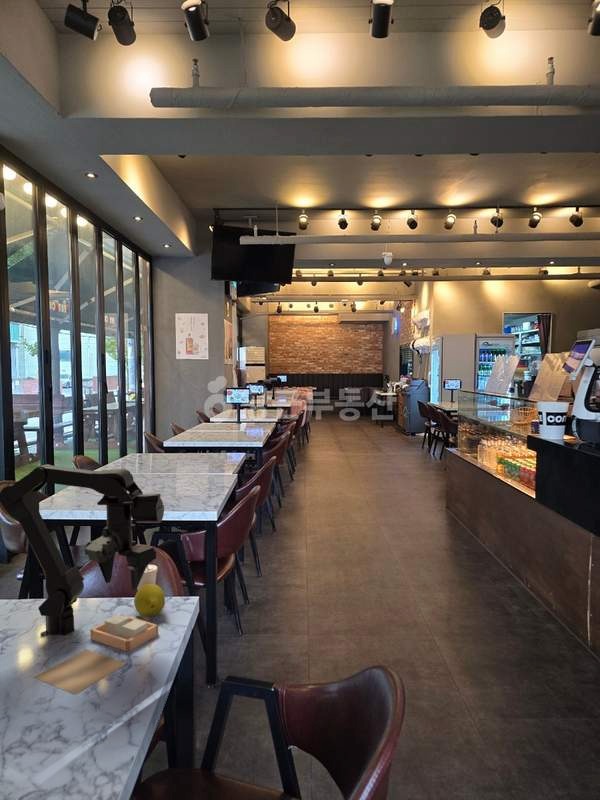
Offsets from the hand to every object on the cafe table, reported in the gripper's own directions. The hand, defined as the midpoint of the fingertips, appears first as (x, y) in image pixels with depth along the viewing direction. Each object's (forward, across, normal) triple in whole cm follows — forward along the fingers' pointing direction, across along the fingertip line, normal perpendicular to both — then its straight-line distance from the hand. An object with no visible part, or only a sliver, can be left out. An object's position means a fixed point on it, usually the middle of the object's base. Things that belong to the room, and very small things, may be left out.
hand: (121, 585), depth 131 cm
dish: (+12, +3, -2) cm, 13 cm away
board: (+12, +6, -17) cm, 22 cm away
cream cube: (+11, +6, -2) cm, 13 cm away
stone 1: (+11, 0, -2) cm, 12 cm away
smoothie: (+12, -8, +16) cm, 22 cm away
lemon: (+12, -2, +11) cm, 16 cm away
